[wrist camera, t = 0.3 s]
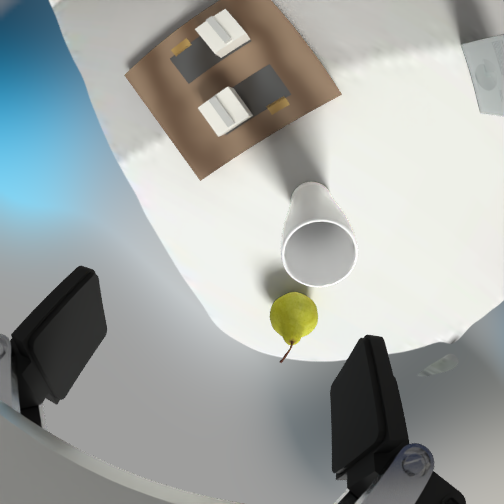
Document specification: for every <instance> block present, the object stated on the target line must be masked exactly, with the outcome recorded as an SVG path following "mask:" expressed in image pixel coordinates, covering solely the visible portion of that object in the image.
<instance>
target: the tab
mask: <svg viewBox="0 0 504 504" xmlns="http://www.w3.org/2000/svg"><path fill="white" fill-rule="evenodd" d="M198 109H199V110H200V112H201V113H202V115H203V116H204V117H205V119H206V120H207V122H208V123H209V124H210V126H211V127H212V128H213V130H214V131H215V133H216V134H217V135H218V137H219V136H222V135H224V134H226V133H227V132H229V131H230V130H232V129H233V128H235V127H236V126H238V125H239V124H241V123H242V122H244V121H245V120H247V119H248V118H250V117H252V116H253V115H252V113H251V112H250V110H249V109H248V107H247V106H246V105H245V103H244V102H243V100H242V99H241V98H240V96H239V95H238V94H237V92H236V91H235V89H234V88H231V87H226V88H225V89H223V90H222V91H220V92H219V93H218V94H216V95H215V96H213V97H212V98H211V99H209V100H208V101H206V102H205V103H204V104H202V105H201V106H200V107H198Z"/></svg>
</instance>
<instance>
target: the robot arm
mask: <svg viewBox="0 0 504 504" xmlns="http://www.w3.org/2000/svg"><path fill="white" fill-rule="evenodd" d="M106 333H107V325H106V320H105V315H104V310H103V304H102V298H101V293H100V285H99V278H98V276H97V275H96V274H95V271H94V270H93V269H90V268H87V267H84V266H79V267H77V268H76V269H75V270H74V271H73V272H72V273H71V274H70V275H69V276H68V277H67V278H65V279H64V280H63V281H62V282H61V283H60V284H59V285H58V286H57V287H56V288H55V289H54V290H53V291H52V292H51V293H50V294H49V295H48V296H47V297H46V298H45V299H44V300H43V301H42V302H41V303H40V304H39V305H38V306H37V307H36V308H35V309H34V310H33V311H32V312H31V314H30V315H29V316H28V317H27V318H26V319H25V320H24V321H23V322H22V323H21V324H20V325H19V327H18V328H17V329H16V330H15V331H14V332H13V333H12V334H11V336H12V339H11V340H10V341H9V338H8V337H6V336H5V335H3V334H0V504H244V503H238V502H231V501H226V500H222V499H217V498H212V497H208V496H203V495H199V494H195V493H191V492H187V491H183V490H180V489H177V488H173V487H170V486H167V485H164V484H160V483H157V482H154V481H152V480H149V479H146V478H143V477H140V476H138V475H135V474H132V473H130V472H127V471H125V470H123V469H120V468H118V467H115V466H113V465H111V464H109V463H106V462H104V461H102V460H100V459H98V458H96V457H93V456H91V455H89V454H87V453H85V452H83V451H81V450H79V449H78V448H76V447H74V446H72V445H70V444H68V443H67V442H65V441H63V440H61V439H59V438H58V437H56V436H54V435H53V434H51V433H50V432H48V431H47V426H46V421H45V415H44V409H43V401H44V399H45V398H47V399H48V400H50V401H52V402H53V403H55V404H58V402H59V400H60V399H61V400H62V399H64V398H65V396H66V395H67V393H68V392H69V390H70V389H71V387H72V386H73V384H74V382H75V381H76V379H77V378H78V376H79V375H80V373H81V371H82V370H83V368H84V367H85V365H86V364H87V362H88V361H89V359H90V358H91V356H92V355H93V353H94V352H95V350H96V349H97V347H98V346H99V344H100V343H101V342H102V340H103V339H104V337H105V335H106ZM330 396H331V423H332V471H333V473H336V480H347V488H348V489H347V490H346V491H345V492H344V493H343V494H342V495H341V497H340V498H339V499H338V500H337V501H336V502H335V503H334V504H466V501H465V498H464V496H463V495H462V494H461V492H459V491H458V490H457V489H455V488H454V487H453V486H452V485H450V484H449V483H448V482H446V481H445V480H444V479H443V478H441V477H440V476H439V475H438V474H436V473H435V472H434V471H433V469H434V458H433V455H432V453H431V452H430V450H429V449H428V448H427V447H425V446H424V445H422V444H418V443H412V444H409V439H408V433H407V428H406V423H405V417H404V412H403V408H402V403H401V399H400V394H399V390H398V385H397V381H396V379H395V377H394V376H393V373H392V369H391V364H390V361H389V357H388V353H387V349H386V345H385V342H384V339H383V338H382V337H379V336H373V335H366V336H365V337H364V338H360V339H359V340H358V342H357V344H356V346H355V347H354V349H353V351H352V353H351V354H350V356H349V358H348V359H347V361H346V363H345V364H344V366H343V368H342V369H341V371H340V372H339V374H338V376H337V377H336V379H335V380H334V382H333V384H332V386H331V392H330Z"/></svg>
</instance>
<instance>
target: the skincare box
mask: <svg viewBox="0 0 504 504" xmlns="http://www.w3.org/2000/svg"><path fill="white" fill-rule="evenodd" d="M461 46H462V49H463V52H464V55H465V58H466V61H467V64H468V67H469V70H470V74H471V77H472V81H473V84H474V88H475V92H476V95H477V100H478V104H479V109H480V113H481V114H489V115H496V116H502V117H504V34H502V35H499V36H494V37H489V38H485V39H481V40H476V41H472V42H469V43H463V44H461Z"/></svg>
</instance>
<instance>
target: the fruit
mask: <svg viewBox="0 0 504 504" xmlns="http://www.w3.org/2000/svg"><path fill="white" fill-rule="evenodd" d="M270 320H271V324H272V327H273V328H274V330H275V331H276V332H277V333H279V334H280V335H281V336H283V339H284V341H285V342H286V343H287V344H288V345H291V346H290V349H289V350H288V352H287V353H286V354H285V355H284V357H283V359H282V360H281V361H280V362H281V363H282V362H283V360H284V359H285V358H286V356H287V355H288V353H289V352H290V350H291V348H292V345H295V344H297V343H298V342H299V341H300V339H301V337H304V336H306V335H308V334H309V333H310V332H312V331H313V329H314V328H315V327H316V325H317V321H318V313H317V308H316V305H315V303H314V302H313V301H312V300H311V299H310V298H309V297H307V296H306V295H304V294H301V293H298V292H290V293H287V294H285V295H283V296H281V297H279V298H278V299H277V300H275V302H274V303H273V305H272V307H271V311H270Z"/></svg>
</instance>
